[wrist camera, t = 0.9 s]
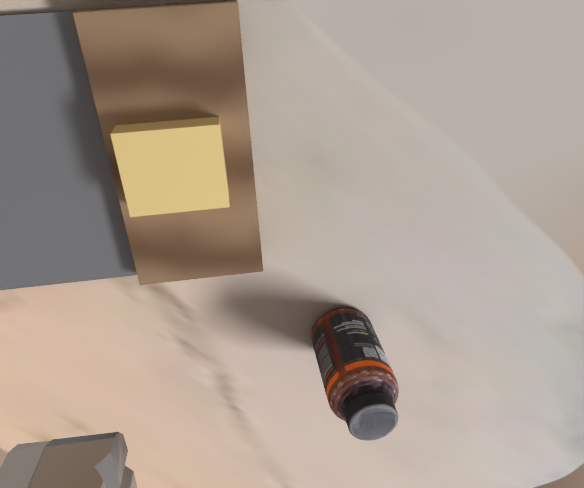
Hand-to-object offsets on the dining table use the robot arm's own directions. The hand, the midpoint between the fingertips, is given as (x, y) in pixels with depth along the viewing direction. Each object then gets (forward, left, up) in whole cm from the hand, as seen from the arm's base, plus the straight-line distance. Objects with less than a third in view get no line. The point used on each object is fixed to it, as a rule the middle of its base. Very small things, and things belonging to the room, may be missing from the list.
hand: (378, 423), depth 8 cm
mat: (+5, -18, -31) cm, 36 cm away
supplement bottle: (+24, +6, -31) cm, 40 cm away
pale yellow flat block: (+5, -6, -29) cm, 30 cm away
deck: (+5, -6, -31) cm, 32 cm away
